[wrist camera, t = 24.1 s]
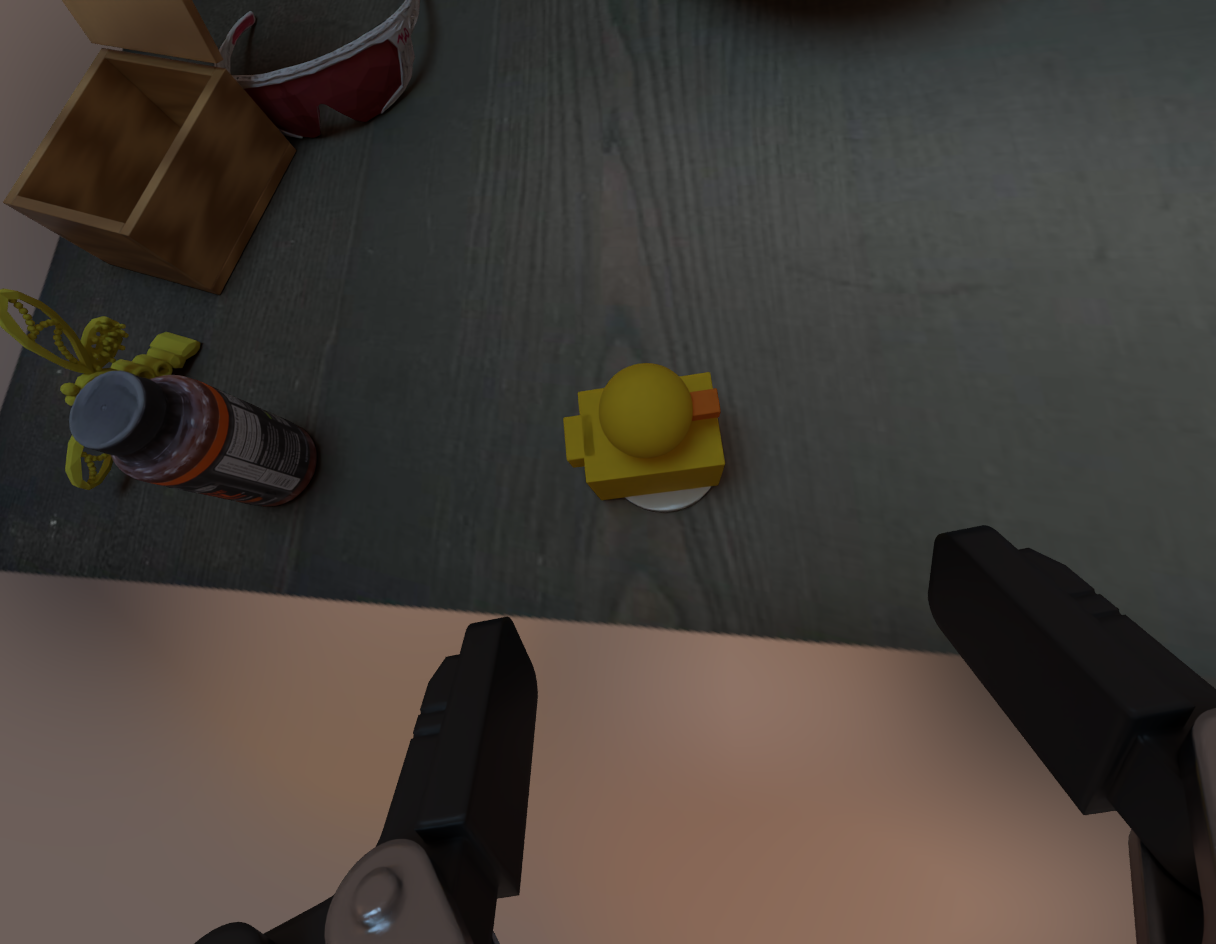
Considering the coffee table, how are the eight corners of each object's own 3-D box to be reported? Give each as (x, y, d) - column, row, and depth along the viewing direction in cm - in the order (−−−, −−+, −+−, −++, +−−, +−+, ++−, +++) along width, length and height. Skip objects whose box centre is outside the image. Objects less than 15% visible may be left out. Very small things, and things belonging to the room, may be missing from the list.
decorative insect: (228, 437, 42) (86, 496, 34) (197, 427, 43) (51, 482, 35) (184, 272, 36) (-4, 295, 27) (149, 263, 36) (-46, 283, 28)
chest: (220, 295, 39) (128, 235, 33) (108, 264, 42) (2, 202, 35) (297, 150, 42) (225, 67, 35) (187, 128, 44) (101, 47, 38)
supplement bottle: (231, 503, 35) (27, 460, 24) (256, 420, 36) (74, 345, 25) (308, 514, 34) (132, 475, 23) (332, 429, 35) (175, 354, 24)
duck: (586, 502, 31) (546, 463, 22) (578, 424, 32) (538, 356, 23) (718, 485, 30) (734, 437, 21) (705, 405, 31) (715, 327, 22)
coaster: (701, 527, 30) (702, 526, 30) (591, 492, 32) (589, 490, 31) (735, 419, 32) (736, 416, 31) (627, 390, 33) (626, 386, 32)
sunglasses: (243, 169, 42) (186, 105, 37) (265, 56, 49) (220, -10, 44) (444, 107, 40) (410, 33, 36) (436, 0, 47) (408, -74, 43)
